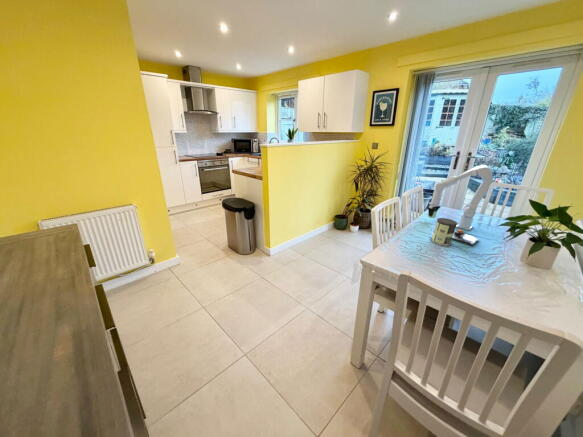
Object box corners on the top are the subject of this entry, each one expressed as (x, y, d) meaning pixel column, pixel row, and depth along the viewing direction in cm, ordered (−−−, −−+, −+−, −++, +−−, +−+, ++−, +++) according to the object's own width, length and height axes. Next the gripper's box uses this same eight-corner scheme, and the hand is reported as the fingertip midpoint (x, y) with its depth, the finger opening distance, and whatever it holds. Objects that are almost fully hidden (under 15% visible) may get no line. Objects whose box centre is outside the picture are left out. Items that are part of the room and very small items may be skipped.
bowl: (429, 215, 176) (430, 209, 175) (436, 217, 173) (438, 211, 171) (426, 216, 173) (427, 211, 172) (433, 218, 169) (435, 213, 168)
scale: (455, 233, 154) (456, 229, 152) (478, 240, 144) (479, 236, 143) (448, 238, 146) (449, 234, 145) (471, 246, 137) (473, 242, 136)
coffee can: (447, 239, 145) (454, 219, 139) (452, 247, 136) (459, 225, 130) (429, 236, 148) (435, 216, 143) (433, 243, 139) (439, 222, 134)
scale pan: (462, 234, 146) (462, 233, 146) (476, 238, 141) (477, 237, 140) (458, 237, 142) (458, 236, 142) (473, 241, 136) (473, 241, 136)
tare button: (458, 231, 151) (459, 229, 150) (462, 232, 149) (463, 230, 148) (457, 232, 149) (457, 229, 149) (461, 233, 148) (462, 231, 147)
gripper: (434, 195, 174) (430, 211, 180) (426, 198, 166) (422, 215, 171) (445, 197, 169) (440, 214, 174) (437, 201, 161) (432, 218, 166)
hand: (431, 215), depth 172 cm, fingers closed on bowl, 5 cm apart
